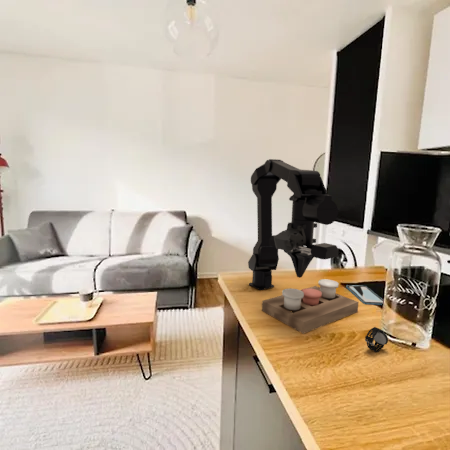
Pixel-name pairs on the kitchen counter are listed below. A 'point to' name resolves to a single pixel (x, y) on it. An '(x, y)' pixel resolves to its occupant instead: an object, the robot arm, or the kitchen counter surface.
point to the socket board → (310, 311)
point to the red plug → (311, 296)
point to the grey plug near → (292, 298)
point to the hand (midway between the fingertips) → (299, 277)
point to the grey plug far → (328, 288)
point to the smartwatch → (376, 339)
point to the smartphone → (365, 295)
